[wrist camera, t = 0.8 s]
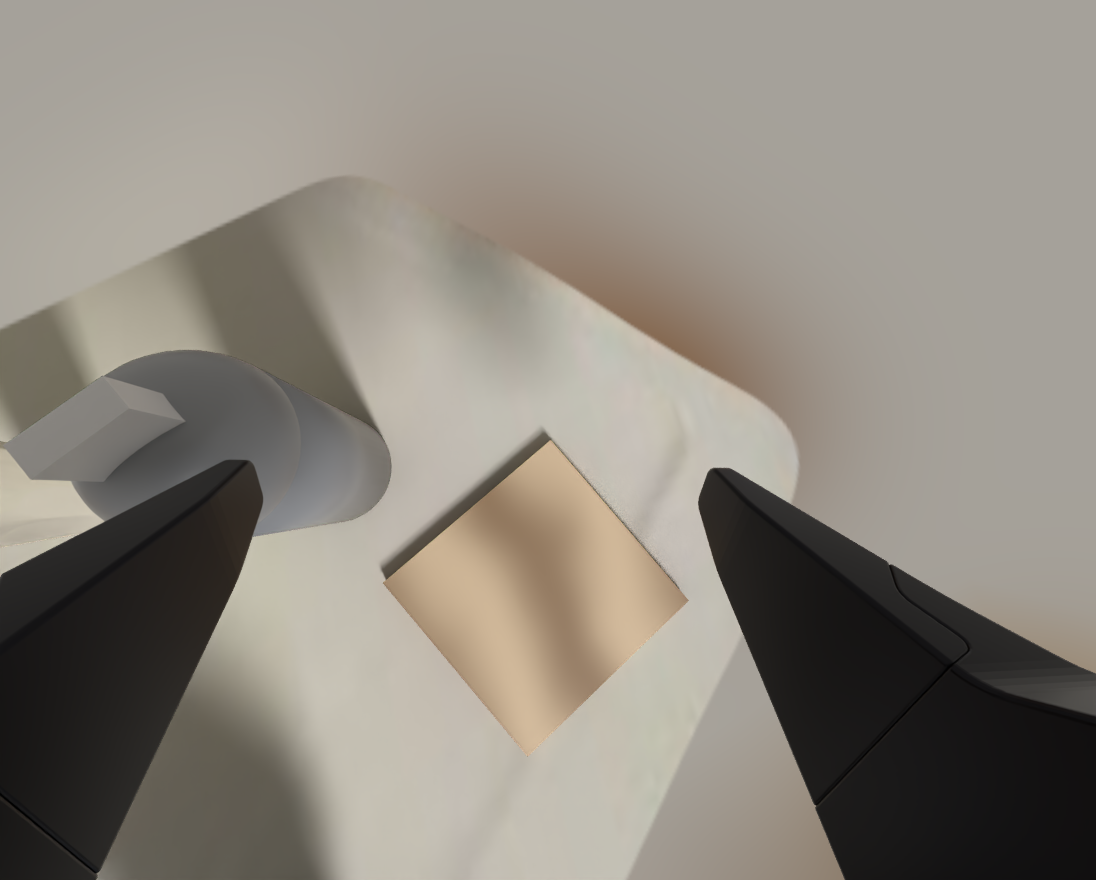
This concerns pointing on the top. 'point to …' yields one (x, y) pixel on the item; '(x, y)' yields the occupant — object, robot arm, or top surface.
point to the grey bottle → (207, 440)
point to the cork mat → (536, 595)
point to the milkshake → (38, 507)
